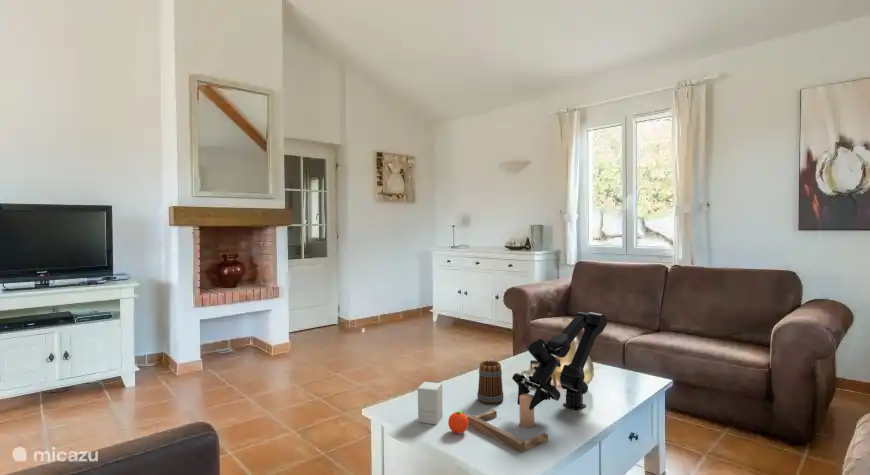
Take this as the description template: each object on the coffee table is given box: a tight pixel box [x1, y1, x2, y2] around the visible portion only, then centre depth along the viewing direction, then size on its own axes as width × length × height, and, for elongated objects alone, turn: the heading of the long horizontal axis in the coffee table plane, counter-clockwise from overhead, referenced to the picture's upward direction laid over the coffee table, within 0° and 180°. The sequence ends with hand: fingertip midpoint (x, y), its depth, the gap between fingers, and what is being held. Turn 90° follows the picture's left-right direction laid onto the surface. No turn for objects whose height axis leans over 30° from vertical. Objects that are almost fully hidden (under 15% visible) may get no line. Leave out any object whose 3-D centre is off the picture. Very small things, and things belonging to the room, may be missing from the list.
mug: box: [477, 357, 504, 406], centre depth 191 cm, size 16×11×15 cm
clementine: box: [448, 410, 469, 434], centre depth 160 cm, size 8×7×7 cm
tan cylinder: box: [519, 393, 535, 428], centre depth 166 cm, size 5×5×10 cm
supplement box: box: [417, 381, 444, 425], centre depth 170 cm, size 7×7×13 cm
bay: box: [466, 409, 549, 453], centre depth 160 cm, size 13×26×3 cm, turn 36°
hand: (524, 406), depth 165 cm, fingers closed on tan cylinder, 5 cm apart
